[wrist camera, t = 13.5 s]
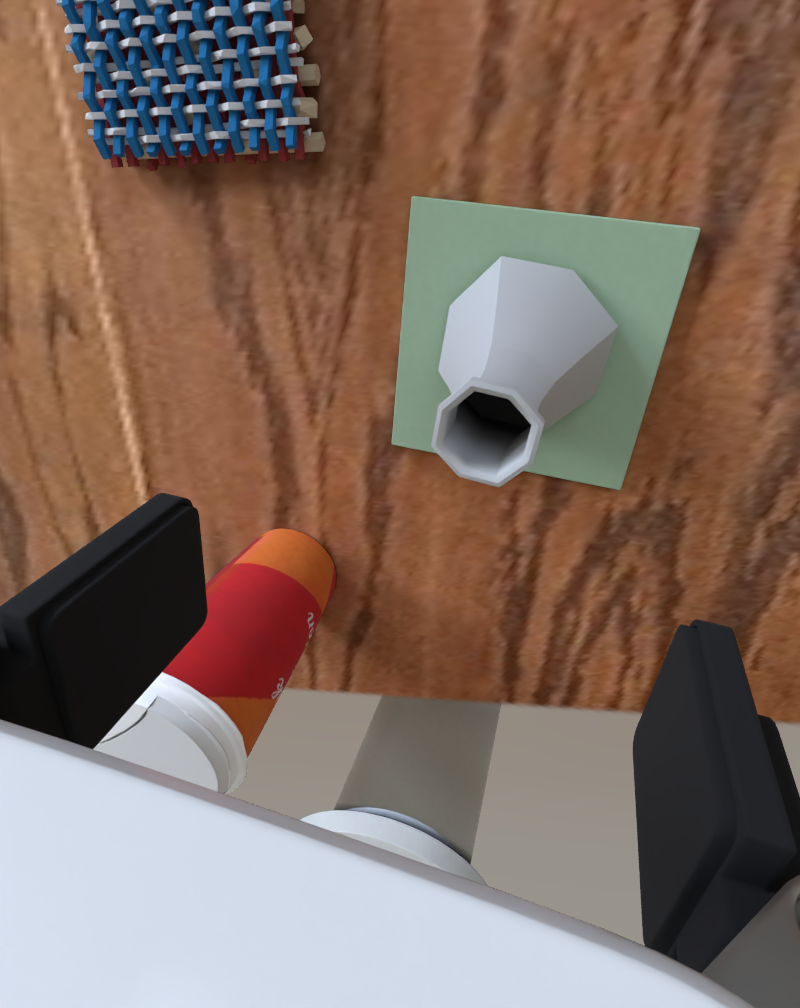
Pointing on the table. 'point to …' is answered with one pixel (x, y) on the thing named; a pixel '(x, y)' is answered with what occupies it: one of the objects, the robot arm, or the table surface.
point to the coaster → (604, 270)
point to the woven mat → (194, 79)
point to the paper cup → (230, 665)
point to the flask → (516, 365)
